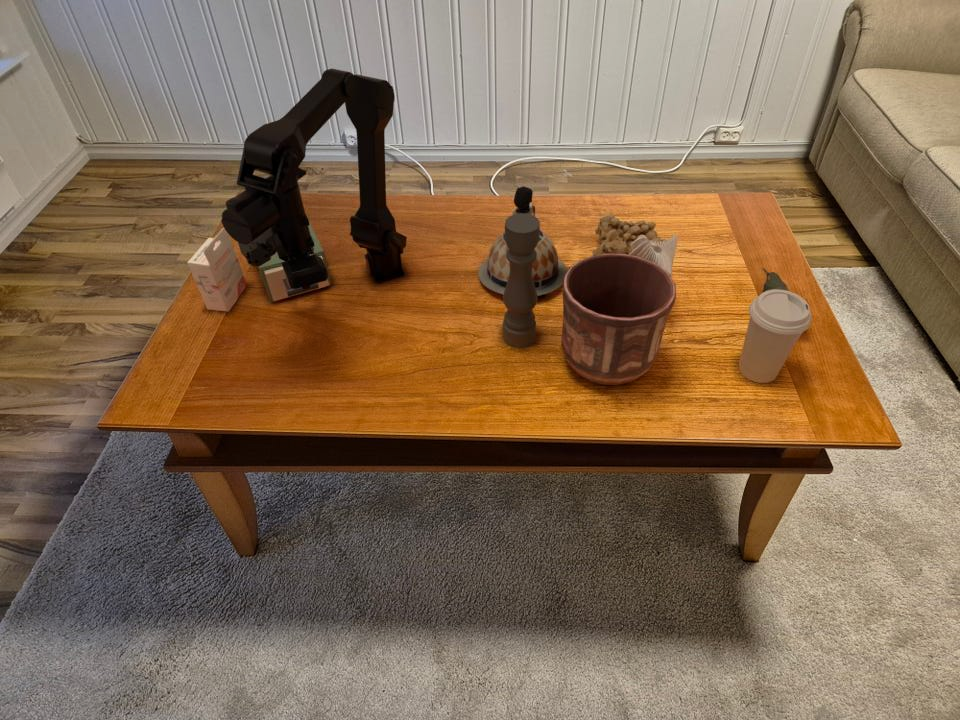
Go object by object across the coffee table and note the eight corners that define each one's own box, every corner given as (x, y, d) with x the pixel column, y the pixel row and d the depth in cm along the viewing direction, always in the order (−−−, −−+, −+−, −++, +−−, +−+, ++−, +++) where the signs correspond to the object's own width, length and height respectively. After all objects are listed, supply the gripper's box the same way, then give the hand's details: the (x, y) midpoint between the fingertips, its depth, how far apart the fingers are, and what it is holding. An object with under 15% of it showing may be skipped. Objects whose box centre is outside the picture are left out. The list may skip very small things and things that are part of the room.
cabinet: (331, 285, 136) (323, 250, 130) (270, 302, 132) (259, 267, 126) (313, 247, 145) (305, 214, 139) (256, 262, 142) (245, 229, 135)
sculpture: (770, 276, 135) (777, 256, 131) (807, 341, 121) (816, 320, 118) (748, 277, 134) (755, 257, 131) (783, 342, 121) (791, 322, 117)
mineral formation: (595, 234, 146) (664, 236, 143) (591, 278, 139) (664, 282, 136) (596, 206, 140) (669, 208, 137) (592, 251, 132) (669, 254, 129)
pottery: (608, 415, 109) (622, 337, 97) (537, 358, 119) (541, 280, 107) (677, 367, 117) (699, 287, 104) (605, 316, 127) (617, 239, 114)
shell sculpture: (669, 303, 129) (687, 225, 117) (658, 329, 124) (677, 251, 111) (628, 293, 132) (641, 215, 119) (616, 318, 127) (629, 240, 114)
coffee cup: (778, 397, 112) (807, 332, 101) (722, 376, 115) (745, 311, 105) (792, 362, 117) (821, 298, 107) (738, 343, 121) (761, 279, 110)
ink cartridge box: (225, 283, 137) (203, 223, 126) (247, 286, 136) (227, 225, 126) (205, 310, 131) (180, 249, 120) (228, 313, 130) (205, 251, 120)
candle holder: (539, 329, 125) (546, 215, 107) (530, 351, 121) (535, 236, 103) (508, 322, 126) (509, 209, 109) (498, 343, 122) (498, 230, 105)
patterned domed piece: (499, 243, 145) (505, 159, 132) (578, 266, 140) (593, 181, 126) (463, 288, 133) (465, 200, 119) (547, 315, 128) (560, 227, 114)
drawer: (336, 299, 131) (329, 272, 126) (279, 316, 128) (270, 288, 123) (312, 250, 143) (306, 223, 138) (260, 264, 140) (251, 237, 135)
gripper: (225, 195, 109) (250, 271, 120) (245, 255, 97) (271, 333, 108) (292, 179, 112) (310, 255, 123) (319, 236, 100) (337, 314, 111)
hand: (306, 288), depth 116 cm, fingers closed
